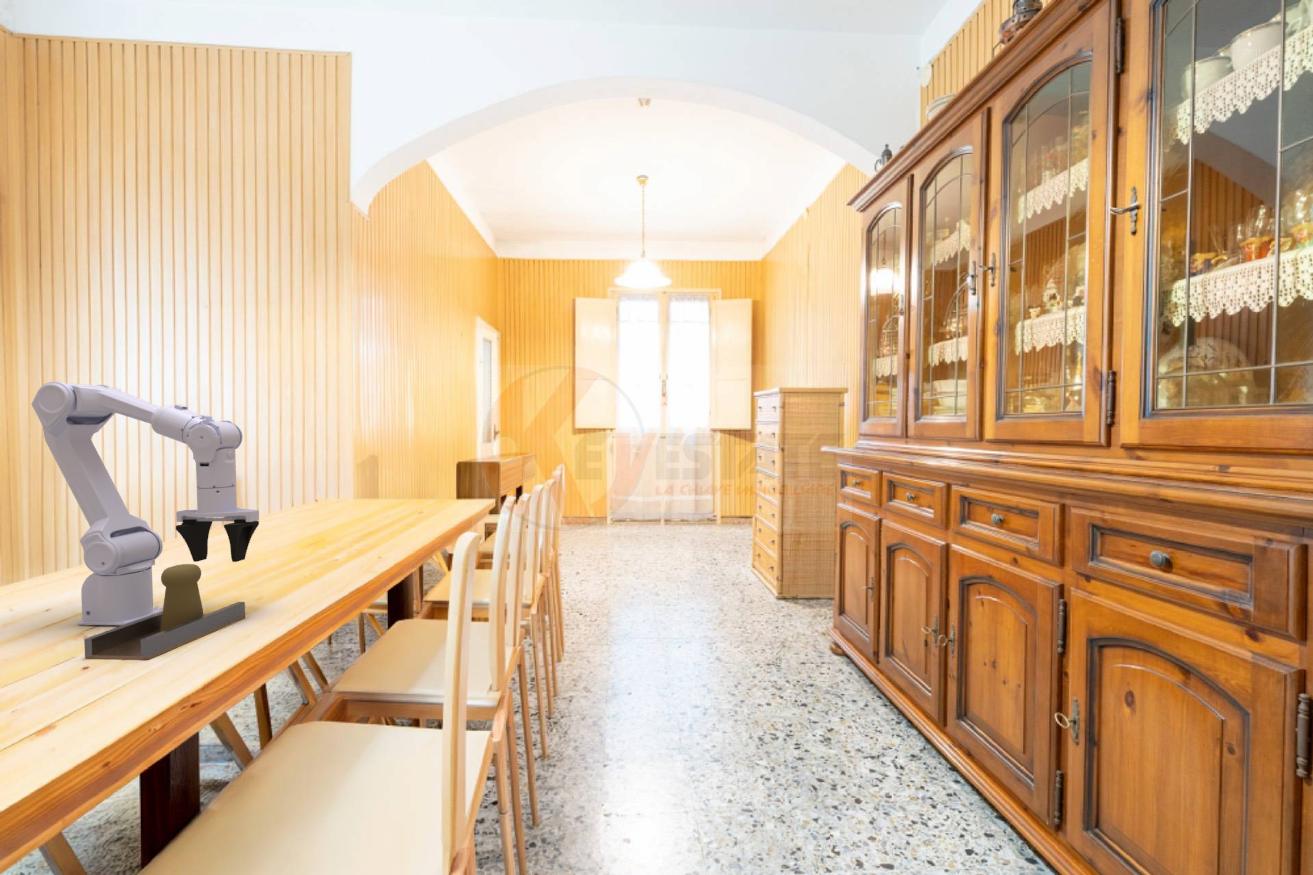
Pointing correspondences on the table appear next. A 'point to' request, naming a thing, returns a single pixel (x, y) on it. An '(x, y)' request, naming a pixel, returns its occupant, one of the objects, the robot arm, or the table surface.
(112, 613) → the robot arm
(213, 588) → the table surface
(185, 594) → the olive knobbed tapered piece
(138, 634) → the rail
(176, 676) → the table surface
